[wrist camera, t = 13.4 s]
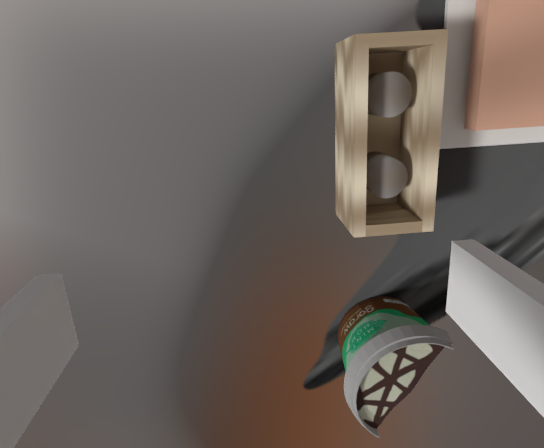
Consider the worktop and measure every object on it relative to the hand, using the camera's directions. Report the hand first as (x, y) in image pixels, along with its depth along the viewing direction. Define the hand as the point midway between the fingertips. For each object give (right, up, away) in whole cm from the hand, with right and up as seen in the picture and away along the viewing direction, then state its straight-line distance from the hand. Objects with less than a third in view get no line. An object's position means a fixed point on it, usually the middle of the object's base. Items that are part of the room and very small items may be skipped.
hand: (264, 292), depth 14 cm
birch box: (+10, +11, +25) cm, 29 cm away
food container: (+10, -9, +32) cm, 35 cm away
